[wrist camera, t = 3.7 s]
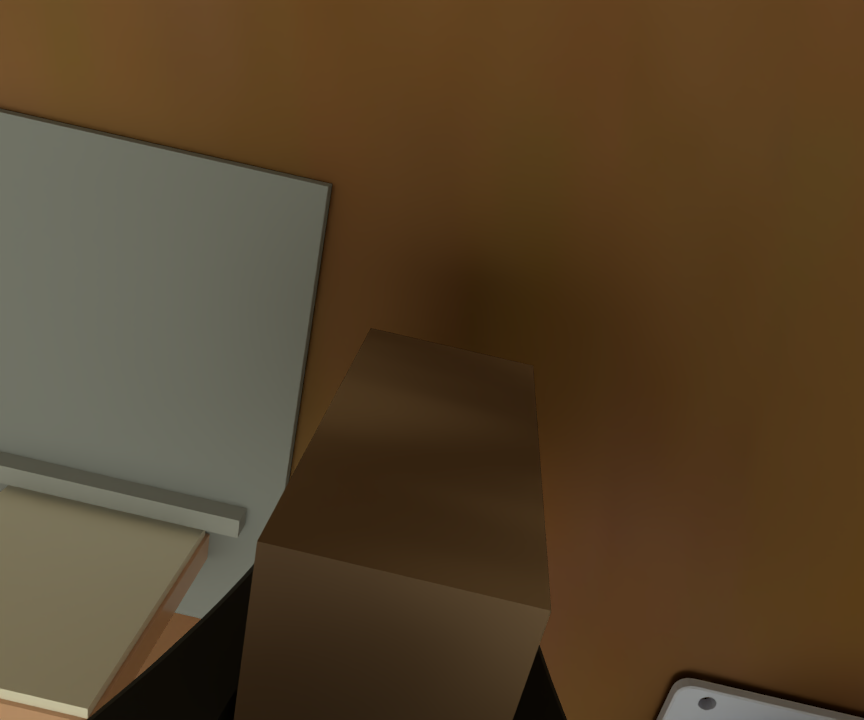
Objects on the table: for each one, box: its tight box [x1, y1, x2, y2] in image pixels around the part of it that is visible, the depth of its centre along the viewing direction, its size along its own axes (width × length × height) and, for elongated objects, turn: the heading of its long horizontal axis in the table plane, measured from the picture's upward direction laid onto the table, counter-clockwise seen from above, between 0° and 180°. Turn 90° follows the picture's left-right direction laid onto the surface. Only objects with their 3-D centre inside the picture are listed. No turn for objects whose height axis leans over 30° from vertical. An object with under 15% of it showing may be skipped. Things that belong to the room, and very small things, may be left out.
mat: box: [0, 109, 332, 619], centre depth 19 cm, size 10×14×1 cm
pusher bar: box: [234, 328, 551, 720], centre depth 9 cm, size 2×7×5 cm, turn 168°
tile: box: [0, 485, 210, 720], centre depth 18 cm, size 6×1×6 cm, turn 78°
